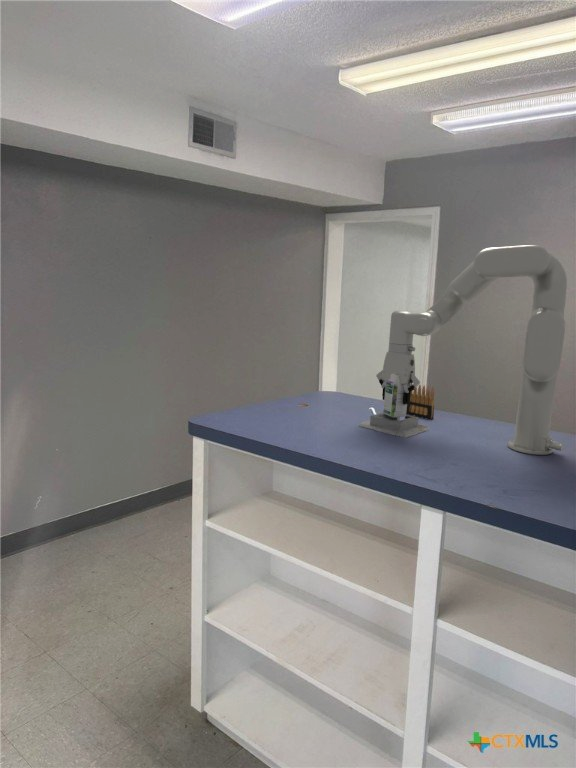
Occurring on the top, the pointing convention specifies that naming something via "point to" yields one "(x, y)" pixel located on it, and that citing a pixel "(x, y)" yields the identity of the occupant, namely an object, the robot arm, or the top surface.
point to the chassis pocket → (395, 425)
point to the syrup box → (394, 397)
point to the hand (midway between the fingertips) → (395, 401)
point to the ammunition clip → (421, 403)
